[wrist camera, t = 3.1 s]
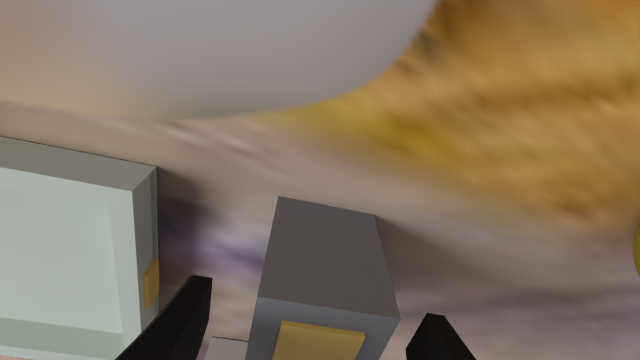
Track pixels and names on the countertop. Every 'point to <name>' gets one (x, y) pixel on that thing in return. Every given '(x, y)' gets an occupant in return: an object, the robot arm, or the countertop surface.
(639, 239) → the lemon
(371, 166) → the countertop surface
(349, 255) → the block
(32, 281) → the parts tray
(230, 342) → the control box
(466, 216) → the countertop surface
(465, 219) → the countertop surface
